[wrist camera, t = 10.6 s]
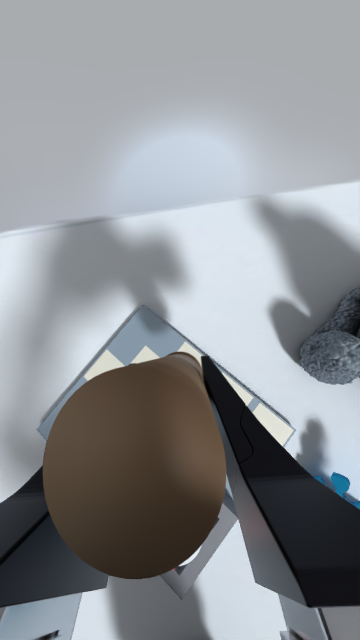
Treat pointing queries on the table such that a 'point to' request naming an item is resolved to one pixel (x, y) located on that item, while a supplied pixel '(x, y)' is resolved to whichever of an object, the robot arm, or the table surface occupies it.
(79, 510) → the brown wooden cylinder
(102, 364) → the board
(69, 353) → the table surface
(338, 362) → the koala plush
